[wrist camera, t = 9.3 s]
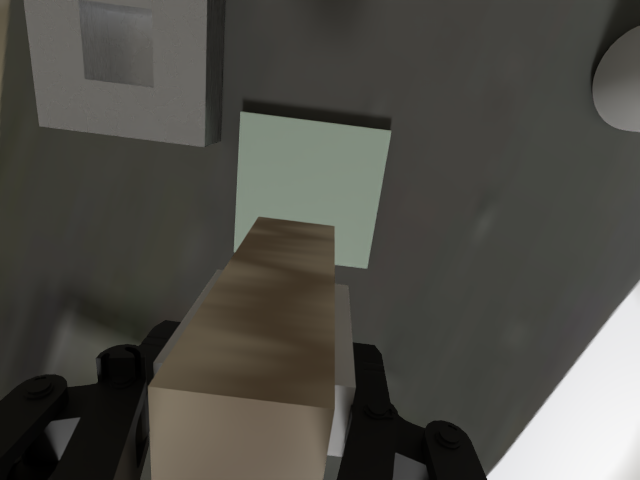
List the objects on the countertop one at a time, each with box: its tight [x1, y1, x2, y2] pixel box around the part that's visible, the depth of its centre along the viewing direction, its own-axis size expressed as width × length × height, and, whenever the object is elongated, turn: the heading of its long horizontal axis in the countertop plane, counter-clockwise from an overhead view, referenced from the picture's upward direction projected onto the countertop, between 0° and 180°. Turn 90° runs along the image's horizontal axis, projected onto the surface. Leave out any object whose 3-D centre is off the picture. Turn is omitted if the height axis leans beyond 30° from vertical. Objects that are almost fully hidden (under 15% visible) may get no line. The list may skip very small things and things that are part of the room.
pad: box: [234, 111, 391, 269], centre depth 38 cm, size 14×14×1 cm
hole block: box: [24, 0, 225, 147], centre depth 33 cm, size 14×14×5 cm
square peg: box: [148, 217, 335, 480], centre depth 16 cm, size 4×4×14 cm
